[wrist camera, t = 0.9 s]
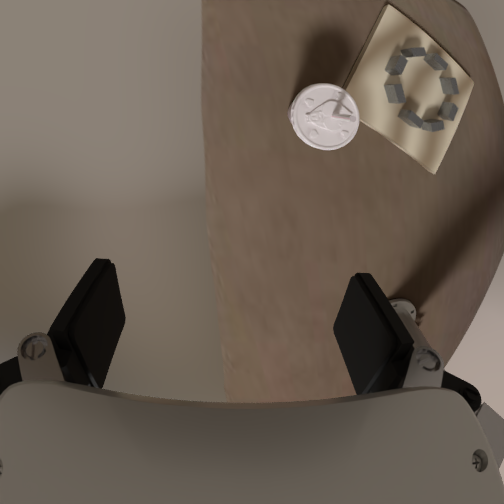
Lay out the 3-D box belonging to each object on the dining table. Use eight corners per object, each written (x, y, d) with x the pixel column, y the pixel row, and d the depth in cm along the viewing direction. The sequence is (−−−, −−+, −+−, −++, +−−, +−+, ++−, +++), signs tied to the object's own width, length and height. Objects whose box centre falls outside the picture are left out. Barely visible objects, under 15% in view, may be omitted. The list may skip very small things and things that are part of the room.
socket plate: (468, 82, 27) (474, 82, 25) (429, 171, 34) (434, 174, 33) (383, 6, 22) (388, 4, 21) (334, 104, 30) (338, 104, 28)
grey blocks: (456, 84, 26) (467, 85, 24) (430, 143, 31) (441, 147, 28) (401, 33, 23) (411, 30, 21) (371, 97, 28) (380, 97, 26)
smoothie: (330, 135, 32) (385, 156, 19) (280, 142, 32) (310, 165, 20) (323, 86, 29) (377, 78, 16) (272, 91, 29) (297, 80, 17)
